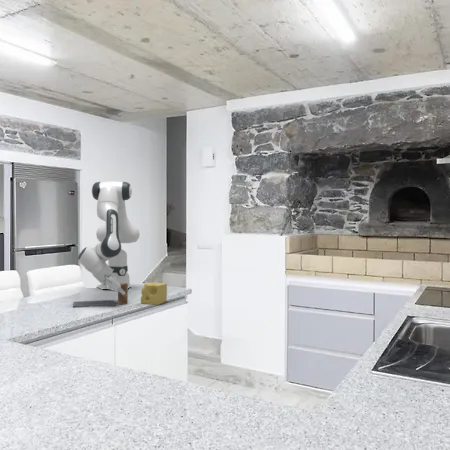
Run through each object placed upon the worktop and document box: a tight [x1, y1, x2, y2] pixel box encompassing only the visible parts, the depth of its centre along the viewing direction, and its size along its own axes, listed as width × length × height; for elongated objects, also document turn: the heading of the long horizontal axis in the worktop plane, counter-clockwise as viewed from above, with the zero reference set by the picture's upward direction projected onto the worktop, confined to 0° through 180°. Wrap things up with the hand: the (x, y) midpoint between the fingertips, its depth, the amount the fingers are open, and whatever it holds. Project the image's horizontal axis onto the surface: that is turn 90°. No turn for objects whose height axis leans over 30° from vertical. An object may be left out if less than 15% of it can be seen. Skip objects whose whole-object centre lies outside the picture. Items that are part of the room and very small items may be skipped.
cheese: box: [140, 281, 168, 306], centre depth 240 cm, size 10×11×10 cm
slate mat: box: [72, 299, 116, 308], centre depth 233 cm, size 20×12×1 cm, turn 107°
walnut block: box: [117, 283, 129, 305], centre depth 236 cm, size 4×4×10 cm
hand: (124, 292), depth 237 cm, fingers open, 5 cm apart
